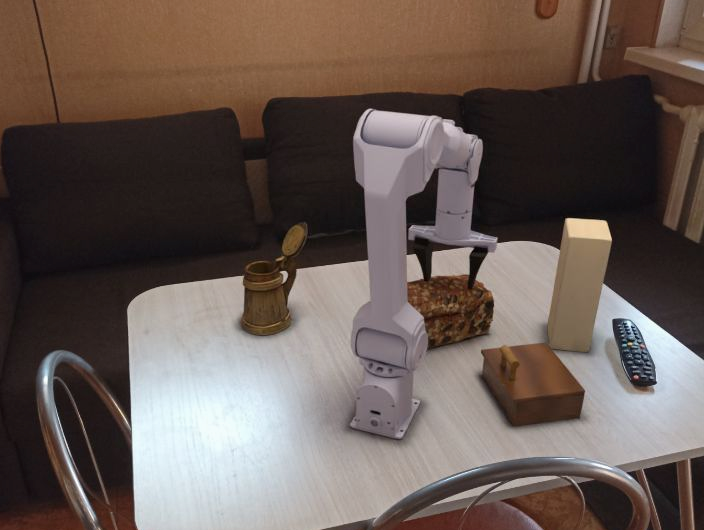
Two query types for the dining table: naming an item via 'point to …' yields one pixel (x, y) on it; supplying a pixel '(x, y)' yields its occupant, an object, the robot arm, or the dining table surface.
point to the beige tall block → (578, 283)
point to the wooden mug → (271, 287)
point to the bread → (451, 308)
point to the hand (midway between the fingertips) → (448, 283)
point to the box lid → (531, 372)
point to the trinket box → (533, 404)
